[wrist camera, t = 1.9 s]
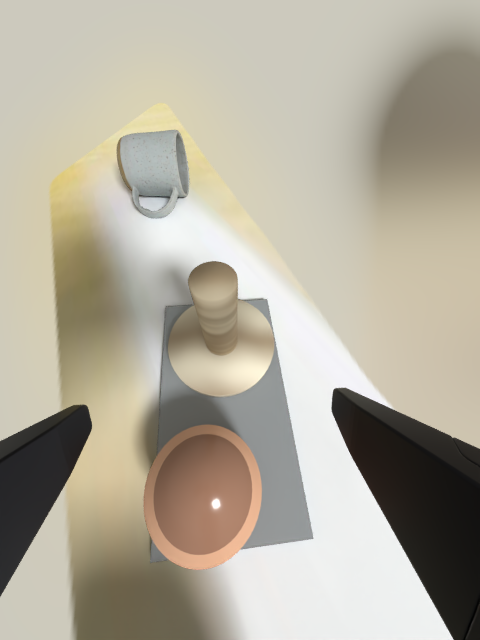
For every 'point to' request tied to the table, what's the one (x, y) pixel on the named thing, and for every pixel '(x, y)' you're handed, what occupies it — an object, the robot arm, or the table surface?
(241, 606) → the table surface
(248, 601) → the table surface
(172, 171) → the ceramic mug
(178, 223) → the table surface
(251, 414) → the slate mat
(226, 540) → the terracotta bowl
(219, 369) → the birch lid
